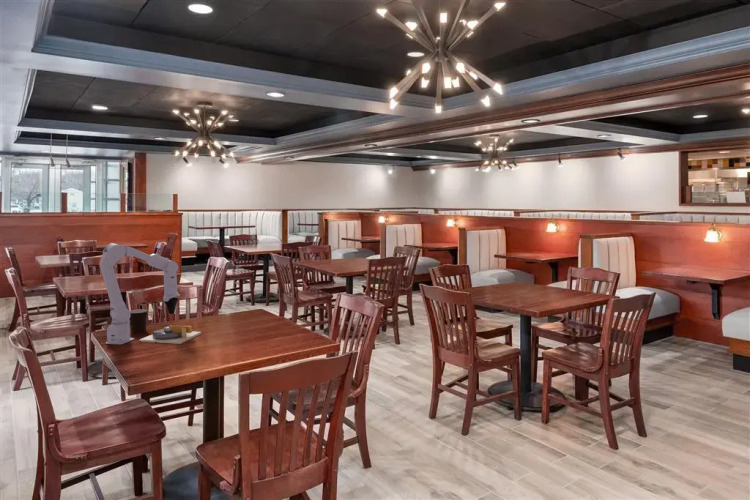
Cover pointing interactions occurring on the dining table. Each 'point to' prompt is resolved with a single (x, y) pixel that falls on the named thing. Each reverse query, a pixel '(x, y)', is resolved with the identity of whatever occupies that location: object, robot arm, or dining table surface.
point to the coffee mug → (138, 320)
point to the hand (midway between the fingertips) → (171, 313)
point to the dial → (171, 332)
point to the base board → (177, 340)
